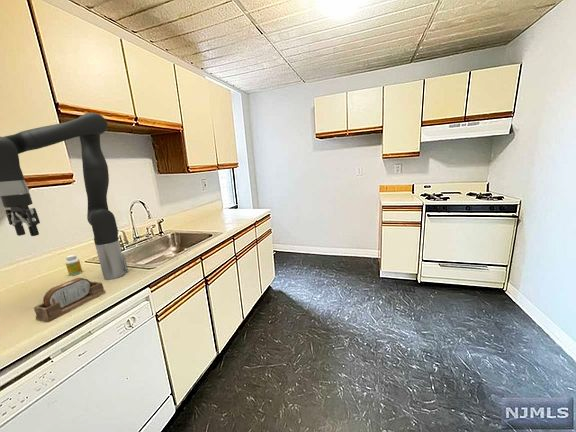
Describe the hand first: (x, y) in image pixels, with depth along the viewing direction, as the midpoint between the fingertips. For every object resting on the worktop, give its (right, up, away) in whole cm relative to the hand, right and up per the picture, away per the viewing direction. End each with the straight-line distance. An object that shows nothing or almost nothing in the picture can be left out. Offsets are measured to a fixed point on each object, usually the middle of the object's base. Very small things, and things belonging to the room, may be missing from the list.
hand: (28, 235), depth 97 cm
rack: (+17, -27, +1) cm, 32 cm away
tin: (+17, -26, 0) cm, 31 cm away
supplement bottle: (-10, -23, +33) cm, 41 cm away
